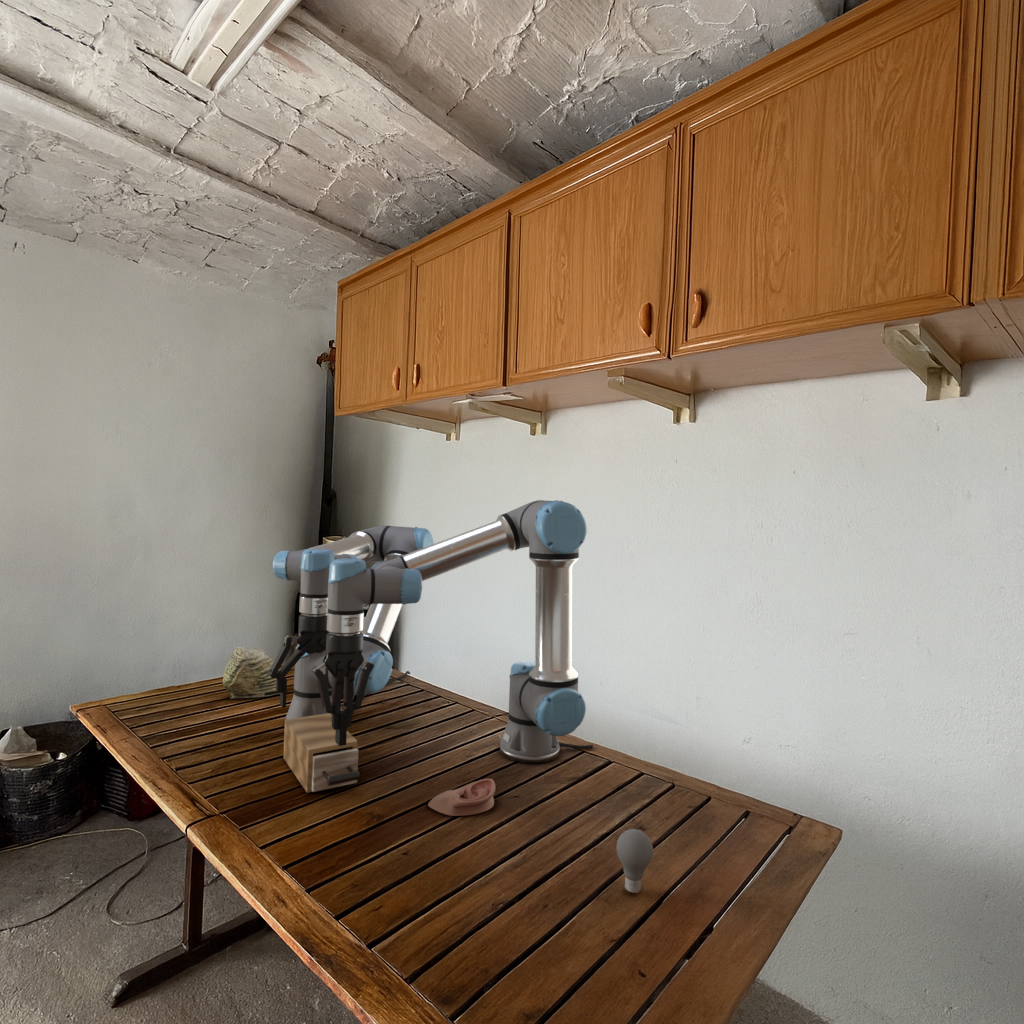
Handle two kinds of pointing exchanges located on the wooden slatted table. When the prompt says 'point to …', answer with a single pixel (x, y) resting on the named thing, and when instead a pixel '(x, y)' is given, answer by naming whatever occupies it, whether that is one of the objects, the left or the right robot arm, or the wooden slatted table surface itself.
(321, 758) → the drawer
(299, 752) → the cabinet
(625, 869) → the light bulb
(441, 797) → the anatomical model
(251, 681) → the fossil
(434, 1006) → the wooden slatted table surface
